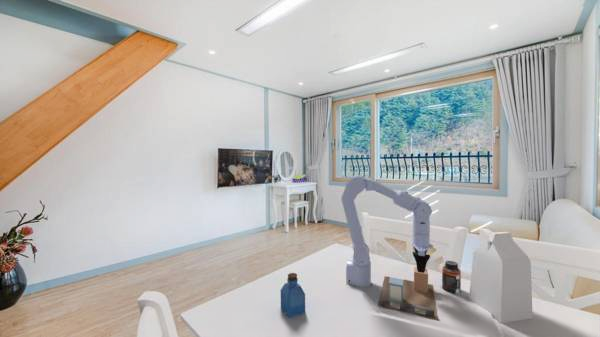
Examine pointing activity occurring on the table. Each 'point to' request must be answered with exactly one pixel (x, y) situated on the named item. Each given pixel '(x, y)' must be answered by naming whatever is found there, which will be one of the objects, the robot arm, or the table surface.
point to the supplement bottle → (451, 277)
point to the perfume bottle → (292, 296)
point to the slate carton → (396, 289)
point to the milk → (502, 279)
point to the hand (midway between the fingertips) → (420, 267)
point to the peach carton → (420, 280)
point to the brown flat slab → (410, 300)
